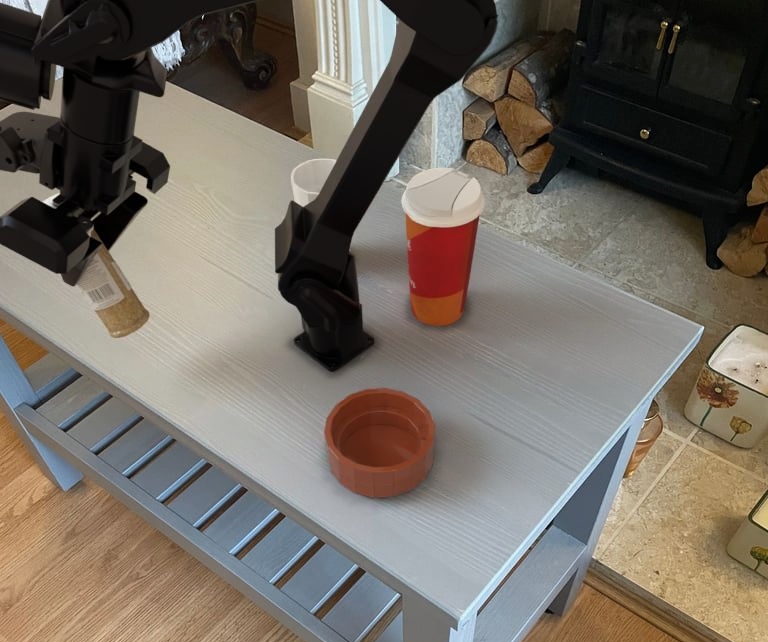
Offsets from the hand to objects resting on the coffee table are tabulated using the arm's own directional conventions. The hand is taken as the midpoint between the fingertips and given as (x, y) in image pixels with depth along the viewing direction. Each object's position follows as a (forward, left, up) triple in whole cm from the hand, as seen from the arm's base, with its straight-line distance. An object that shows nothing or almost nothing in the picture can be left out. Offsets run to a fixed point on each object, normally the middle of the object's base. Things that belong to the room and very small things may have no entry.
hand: (83, 271), depth 77 cm
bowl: (-30, -11, -12) cm, 34 cm away
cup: (-4, -27, -12) cm, 30 cm away
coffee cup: (-19, -30, -12) cm, 37 cm away
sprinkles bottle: (-4, -1, -6) cm, 7 cm away
